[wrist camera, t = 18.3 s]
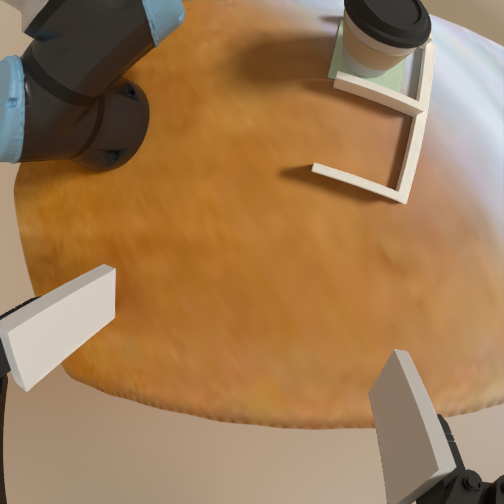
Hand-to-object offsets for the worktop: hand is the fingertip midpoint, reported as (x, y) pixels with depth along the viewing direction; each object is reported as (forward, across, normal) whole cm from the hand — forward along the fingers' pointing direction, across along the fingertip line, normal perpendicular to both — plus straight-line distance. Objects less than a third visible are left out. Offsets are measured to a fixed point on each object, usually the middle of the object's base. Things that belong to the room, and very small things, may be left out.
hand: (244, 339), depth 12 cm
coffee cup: (+27, +5, +26) cm, 38 cm away
